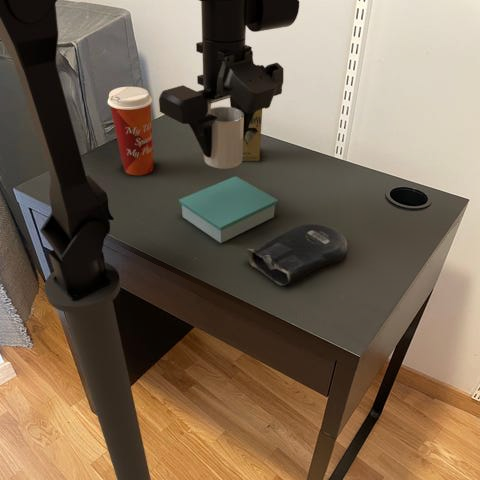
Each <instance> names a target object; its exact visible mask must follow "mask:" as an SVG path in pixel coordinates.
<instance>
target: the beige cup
mask: <svg viewBox="0 0 480 480" xmlns="http://www.w3.org/2000/svg"><path fill="white" fill-rule="evenodd" d="M211 114H212V115H214V116H216V117H218V118H217V120H216V121H215V122H214V123H213V124H212V151H211V157H207V156H205V155H204V154H203V161H204V163H205V164H206V165H207V166H209V167H211V168H215V169H221V170H226V169H233V168H236V167H238V166H240V165H241V164H242V162H243V161H242V159H243V132H244V113H243V112H242V111H241V110H238V109H236V108H232V107H231V106H213V107H211Z"/></svg>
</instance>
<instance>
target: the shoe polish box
mask: <svg viewBox="0 0 480 480" xmlns="http://www.w3.org/2000/svg"><path fill="white" fill-rule="evenodd" d="M262 123H263V109H260V110H257V111H256V112H255V113H254V115H253V117H252V120H251V122H250V124H249V127H248V130H247V133H246V135H245V138H244V141H243V159H242V162H259V161H260V157H261V156H260V155H261V138H262Z"/></svg>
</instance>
